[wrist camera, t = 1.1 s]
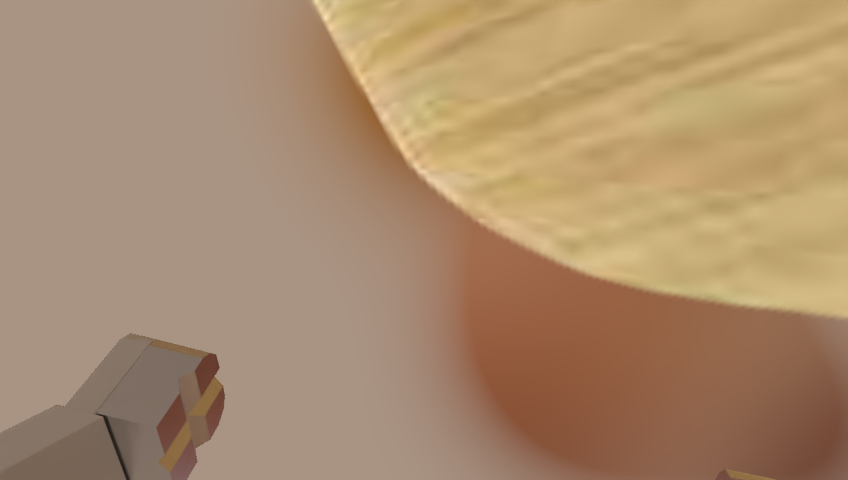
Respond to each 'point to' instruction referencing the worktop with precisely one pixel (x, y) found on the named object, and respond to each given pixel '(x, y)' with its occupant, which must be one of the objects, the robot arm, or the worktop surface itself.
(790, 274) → the worktop surface
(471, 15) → the worktop surface
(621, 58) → the worktop surface
